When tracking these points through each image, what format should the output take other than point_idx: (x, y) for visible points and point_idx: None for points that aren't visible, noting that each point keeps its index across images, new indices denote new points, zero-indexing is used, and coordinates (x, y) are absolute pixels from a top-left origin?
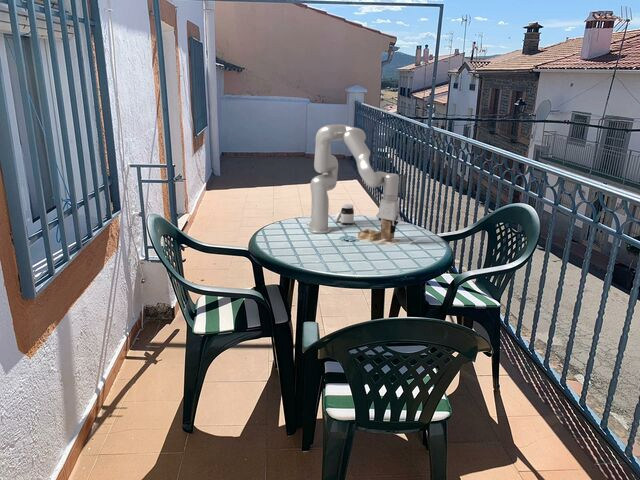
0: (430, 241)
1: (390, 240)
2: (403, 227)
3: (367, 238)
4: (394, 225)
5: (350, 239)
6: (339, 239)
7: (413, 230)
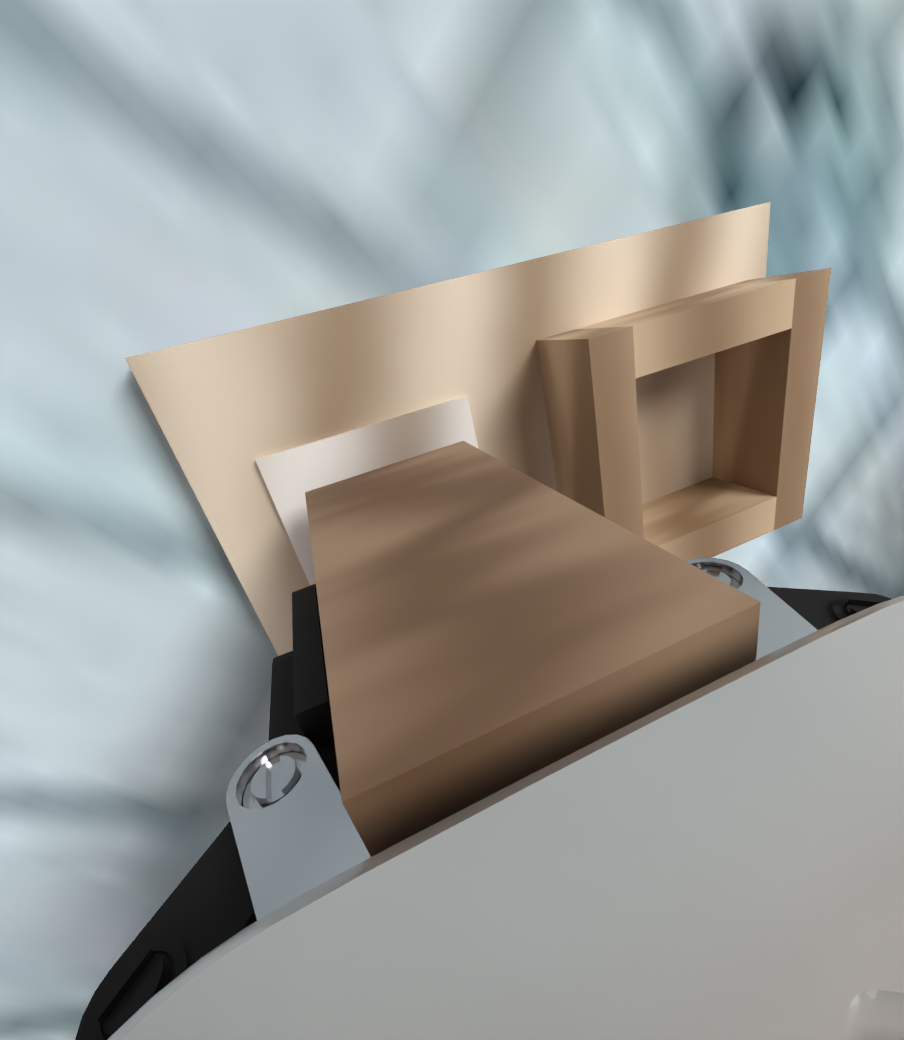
0: None
1: None
2: None
3: (626, 316)
4: (247, 790)
5: (784, 186)
6: (883, 36)
7: None
